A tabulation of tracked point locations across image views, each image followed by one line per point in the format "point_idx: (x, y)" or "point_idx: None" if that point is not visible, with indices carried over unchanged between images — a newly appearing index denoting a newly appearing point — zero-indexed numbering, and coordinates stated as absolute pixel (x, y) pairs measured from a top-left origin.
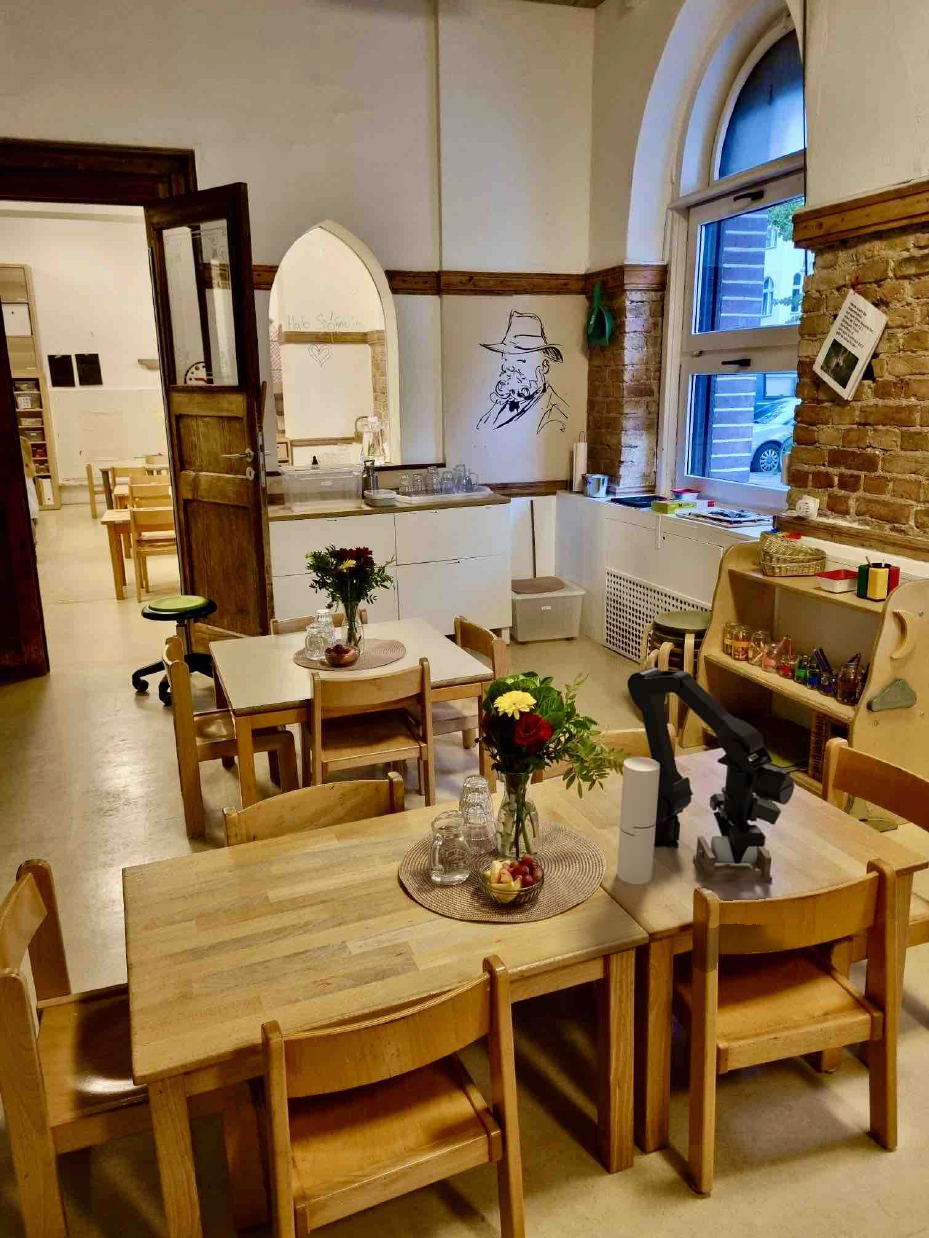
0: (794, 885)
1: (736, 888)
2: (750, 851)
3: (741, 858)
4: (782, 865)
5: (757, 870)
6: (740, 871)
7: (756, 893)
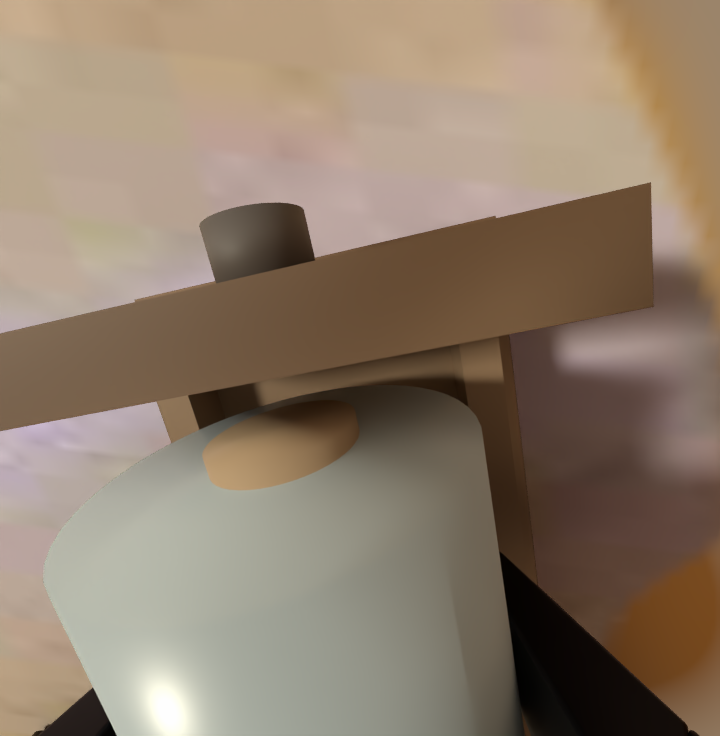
0: (522, 12)
1: (607, 492)
2: (492, 553)
3: (549, 603)
4: (189, 95)
5: (500, 361)
6: (513, 499)
7: (674, 368)
